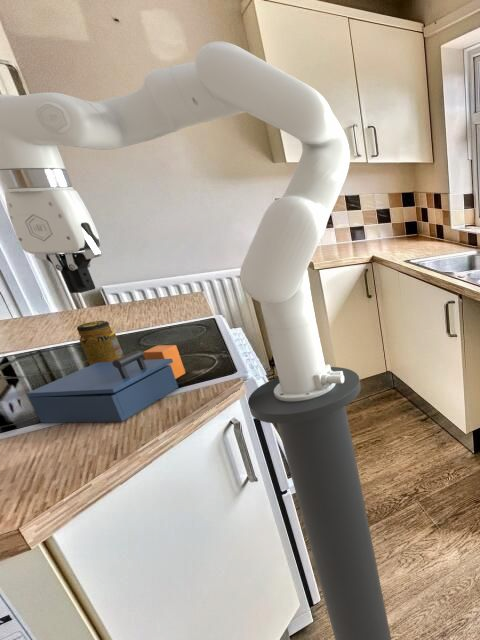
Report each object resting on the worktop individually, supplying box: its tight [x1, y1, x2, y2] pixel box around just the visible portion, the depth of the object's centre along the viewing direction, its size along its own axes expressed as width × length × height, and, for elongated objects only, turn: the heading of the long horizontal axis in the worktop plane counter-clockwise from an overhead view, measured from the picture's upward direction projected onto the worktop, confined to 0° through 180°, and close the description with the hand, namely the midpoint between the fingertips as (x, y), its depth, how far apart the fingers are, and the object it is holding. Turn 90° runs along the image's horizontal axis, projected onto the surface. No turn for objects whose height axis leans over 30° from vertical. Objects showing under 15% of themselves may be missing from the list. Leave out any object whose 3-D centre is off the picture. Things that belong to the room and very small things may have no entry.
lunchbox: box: [27, 365, 179, 424], centre depth 83 cm, size 16×14×5 cm
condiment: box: [76, 320, 125, 366], centre depth 96 cm, size 7×8×12 cm
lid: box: [25, 349, 173, 397], centre depth 81 cm, size 16×14×5 cm
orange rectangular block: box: [142, 344, 186, 380], centre depth 94 cm, size 4×4×7 cm
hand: (83, 290), depth 75 cm, fingers closed
